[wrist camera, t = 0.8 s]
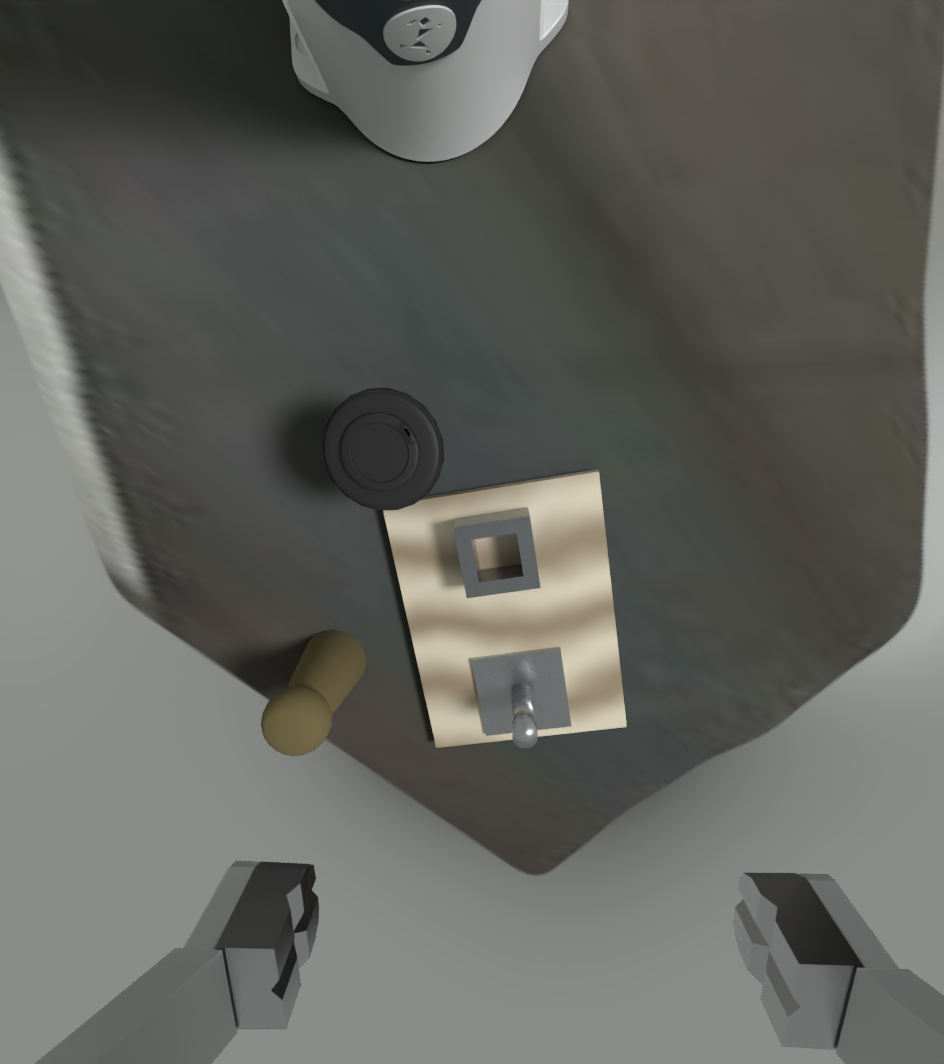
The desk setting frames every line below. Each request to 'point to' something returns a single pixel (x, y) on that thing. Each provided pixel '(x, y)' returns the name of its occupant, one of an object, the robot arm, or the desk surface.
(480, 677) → the post
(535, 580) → the link
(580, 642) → the board
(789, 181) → the desk surface
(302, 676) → the cork
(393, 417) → the coffee cup
